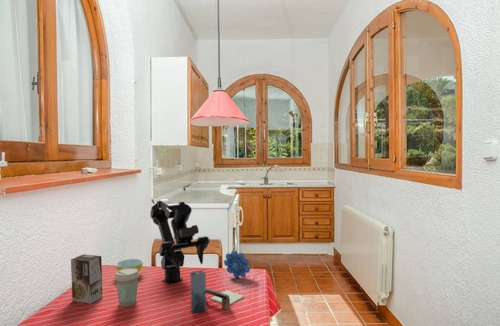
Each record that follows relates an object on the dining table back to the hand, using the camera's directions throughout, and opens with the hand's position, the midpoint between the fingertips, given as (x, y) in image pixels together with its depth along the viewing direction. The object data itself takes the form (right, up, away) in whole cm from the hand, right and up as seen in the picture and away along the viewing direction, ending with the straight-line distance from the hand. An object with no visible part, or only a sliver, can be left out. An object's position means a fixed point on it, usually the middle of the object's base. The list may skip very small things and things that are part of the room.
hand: (190, 265), depth 122 cm
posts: (+9, -13, -2) cm, 16 cm away
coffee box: (-40, -14, +3) cm, 42 cm away
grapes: (+16, -13, +23) cm, 31 cm away
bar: (+9, -10, -2) cm, 13 cm away
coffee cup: (-23, -14, -1) cm, 27 cm away
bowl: (-32, -13, +27) cm, 44 cm away
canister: (+4, -14, -7) cm, 16 cm away
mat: (+14, -13, +3) cm, 19 cm away
